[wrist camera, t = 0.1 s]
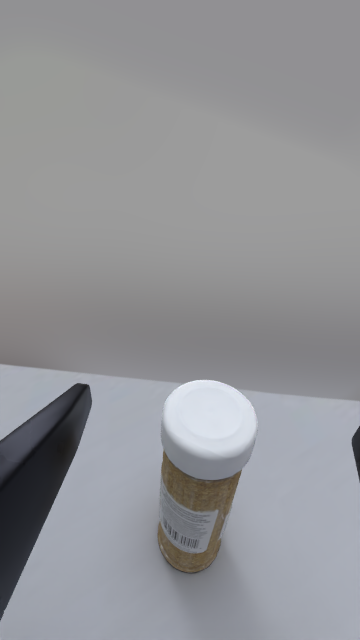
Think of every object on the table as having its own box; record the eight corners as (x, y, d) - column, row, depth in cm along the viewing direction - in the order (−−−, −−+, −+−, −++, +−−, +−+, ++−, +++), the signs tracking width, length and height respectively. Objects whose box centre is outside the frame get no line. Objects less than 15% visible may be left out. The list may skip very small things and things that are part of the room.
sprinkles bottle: (232, 537, 21) (279, 415, 14) (187, 594, 18) (215, 480, 11) (188, 488, 24) (207, 363, 16) (143, 531, 21) (141, 405, 14)
